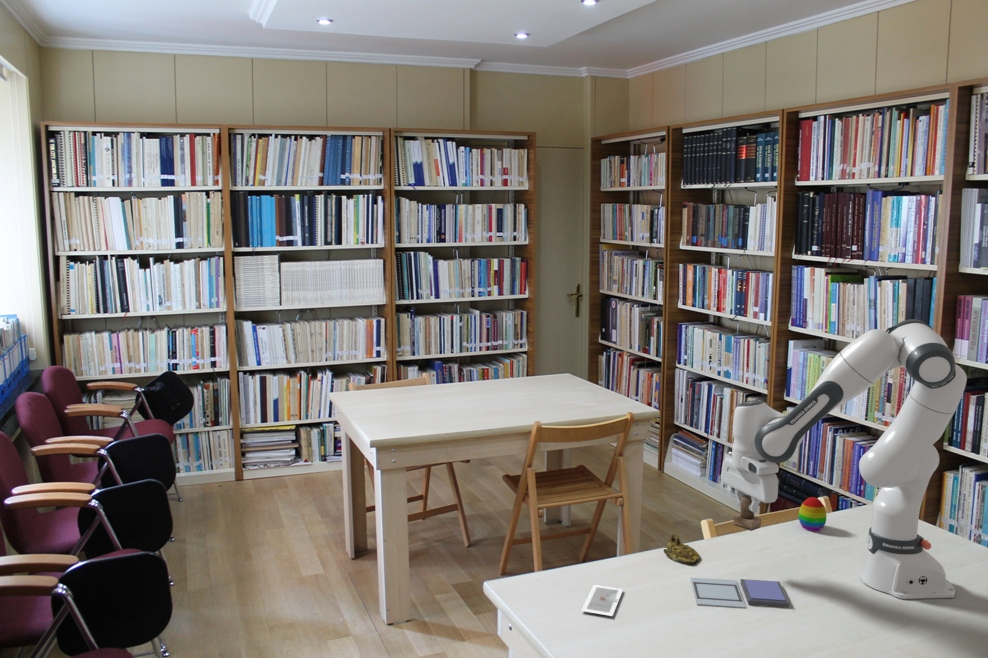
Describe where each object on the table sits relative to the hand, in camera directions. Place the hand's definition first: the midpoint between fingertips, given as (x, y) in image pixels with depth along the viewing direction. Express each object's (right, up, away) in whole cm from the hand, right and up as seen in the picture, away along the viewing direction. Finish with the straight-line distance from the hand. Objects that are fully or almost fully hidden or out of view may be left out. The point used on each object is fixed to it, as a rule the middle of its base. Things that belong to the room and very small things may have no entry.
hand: (747, 508), depth 221 cm
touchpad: (-42, -21, -16) cm, 49 cm away
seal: (-15, -17, +13) cm, 26 cm away
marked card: (-11, -20, -11) cm, 25 cm away
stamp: (0, -5, +1) cm, 5 cm away
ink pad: (+1, -20, -12) cm, 23 cm away
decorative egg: (+31, -14, +33) cm, 48 cm away
